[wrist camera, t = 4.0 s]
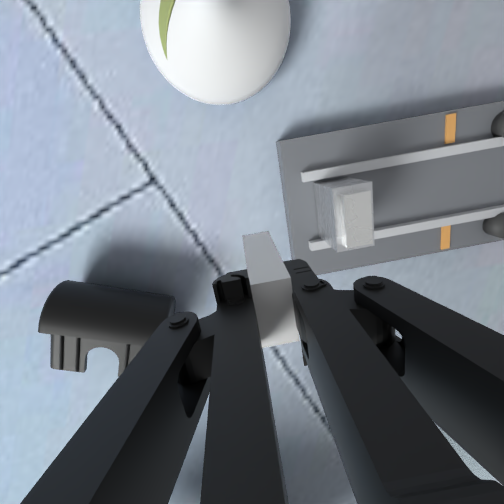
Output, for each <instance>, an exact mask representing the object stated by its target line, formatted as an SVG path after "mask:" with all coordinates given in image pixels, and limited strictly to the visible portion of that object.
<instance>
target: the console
mask: <svg viewBox="0 0 504 504" xmlns="http://www.w3.org/2000/svg"><path fill="white" fill-rule="evenodd" d="M276 145H277V152H278V160H279V167H280V175H281V182H282V189H283V197H284V204H285V212H286V219H287V227H288V234H289V241H290V249H291V256H292V260H295V259H301V260H304V261H306V262H307V263H308V265H309V266H310V268H311V269H312V271H313V272H314V273H315V275H320V274H325V273H331V272H336V271H341V270H346V269H352V268H357V267H362V266H368V265H373V264H378V263H384V262H389V261H394V260H400V259H405V258H410V257H416V256H421V255H426V254H432V253H437V252H442V251H447V250H453V249H458V248H463V247H469V246H474V245H479V244H485V243H490V242H495V241H501V240H504V101H499V102H494V103H488V104H483V105H477V106H472V107H466V108H460V109H455V110H449V111H444V112H438V113H433V114H427V115H421V116H416V117H410V118H405V119H399V120H394V121H388V122H382V123H377V124H371V125H366V126H360V127H355V128H349V129H343V130H338V131H332V132H327V133H321V134H316V135H310V136H305V137H299V138H293V139H288V140H282V141H278V142H276ZM344 177H349V178H355V179H361V180H367V181H372V190H373V217H374V244H375V246H369V247H364V248H359V249H353V250H348V251H343V252H336V251H335V250H334V249H333V248H332V247H331V246H329V245H328V244H327V243H326V242H325V241H324V240H323V239H321V238H320V237H319V233H318V223H317V213H316V203H315V194H314V184H313V183H317V182H322V181H328V180H333V179H339V178H344Z"/></svg>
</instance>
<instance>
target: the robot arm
mask: <svg viewBox="0 0 504 504" xmlns="http://www.w3.org/2000/svg"><path fill="white" fill-rule="evenodd" d="M242 237H243V244H244V251H245V258H246V265H247V269H246V270H240V271H235V272H229V273H227V274H226V275H224V276H221V277H219V278H217V279H216V280H215V281H214V282H213V284H212V285H213V289H214V294H215V298H216V302H217V311H216V312H214V313H213V314H211V315H209V316H207V317H204V318H201V319H199V320H198V317H197V315H196V314H195V313H193V312H179V313H176V314H173V315H171V316H170V317H168V318H166V319H165V320H164V321H163V322H162V323H161V324H160V325H159V326H158V328H157V329H156V330H155V331H154V333H153V334H152V335H151V337H150V338H149V339H148V340H147V342H146V343H145V344H144V346H143V347H142V348H141V349H140V351H139V352H138V353H137V355H136V356H135V357H134V358H133V360H132V361H131V362H130V364H129V365H128V366H127V367H126V369H125V370H124V371H123V373H122V374H121V375H120V376H119V378H118V379H117V380H116V382H115V383H114V384H113V385H112V387H111V388H110V389H109V390H108V392H107V393H106V394H105V396H104V397H103V398H102V399H101V401H100V402H99V403H98V405H97V406H96V407H95V408H94V410H93V411H92V412H91V414H90V415H89V416H88V417H87V419H86V420H85V421H84V423H83V424H82V425H81V426H80V428H79V429H78V430H77V432H76V433H75V434H74V435H73V437H72V438H71V439H70V441H69V442H68V443H67V444H66V446H65V447H64V448H63V450H62V451H61V452H60V453H59V455H58V456H57V457H56V459H55V460H54V461H53V462H52V464H51V465H50V466H49V467H48V469H47V470H46V471H45V473H44V474H43V475H42V476H41V478H40V479H39V480H38V482H37V483H36V484H35V485H34V487H33V488H32V489H31V491H30V492H29V493H28V494H27V496H26V497H25V498H24V500H23V501H22V502H21V503H20V504H168V502H169V500H170V497H171V494H172V491H173V489H174V486H175V483H176V481H177V478H178V475H179V473H180V470H181V467H182V465H183V462H184V459H185V457H186V454H187V451H188V449H189V446H190V443H191V441H192V438H193V435H194V433H195V430H196V427H197V424H198V422H199V419H200V416H201V414H202V411H203V408H204V406H205V403H206V400H207V398H208V395H209V392H210V395H209V407H208V419H207V431H206V442H205V454H204V466H203V478H202V490H201V502H200V504H288V498H287V492H286V486H285V480H284V474H283V468H282V462H281V456H280V450H279V444H278V438H277V432H276V426H275V420H274V414H273V408H272V402H271V396H270V390H269V384H268V378H267V372H266V366H265V361H264V355H263V350H262V348H265V347H270V346H276V345H281V344H286V343H292V342H297V341H299V335H300V338H301V346H302V353H303V361H304V366H306V365H308V367H309V370H310V373H311V376H312V378H313V381H314V384H315V387H316V390H317V392H318V395H319V398H320V401H321V403H322V406H323V409H324V412H325V415H326V417H327V420H328V423H329V426H330V429H331V431H332V434H333V437H334V440H335V442H336V445H337V448H338V451H339V454H340V456H341V459H342V462H343V465H344V467H345V470H346V473H347V476H348V479H349V481H350V484H351V487H352V490H353V493H354V495H355V498H356V501H357V504H504V335H502V334H500V333H498V332H496V331H494V330H492V329H490V328H488V327H486V326H484V325H482V324H480V323H477V322H475V321H473V320H471V319H469V318H467V317H465V316H463V315H461V314H459V313H457V312H455V311H453V310H451V309H449V308H447V307H445V306H443V305H441V304H438V303H436V302H434V301H432V300H430V299H428V298H426V297H424V296H422V295H420V294H418V293H416V292H414V291H412V290H410V289H408V288H406V287H404V286H402V285H400V284H397V283H395V282H393V281H391V280H389V279H386V278H383V277H377V276H372V277H371V276H367V277H364V278H360V279H358V280H356V281H355V282H354V283H353V286H354V290H334V289H333V288H332V286H331V285H330V284H329V283H328V282H327V281H325V280H322V279H318V278H317V276H316V275H315V273H314V272H313V271H312V269H311V268H310V266H309V265H308V263H307V262H306V261H304V260H301V259H295V260H290V261H284V262H283V261H282V258H281V256H280V254H279V252H278V250H277V248H276V246H275V244H274V242H273V240H272V238H271V236H270V234H269V232H268V231H265V232H260V233H254V234H249V235H244V236H242ZM395 329H396V330H397V331H399V332H400V334H401V335H402V339H400V338H399V337H397V336H396V335H395ZM298 332H299V334H298ZM432 420H433V421H434V422H435V423H436V424H437V425H438V426H439V427H440V428H441V429H442V430H443V431H445V432H446V433H447V434H448V435H449V436H450V437H451V438H452V439H453V440H454V441H455V442H456V443H458V444H459V445H460V446H461V447H462V448H463V449H464V450H465V451H466V452H467V453H468V454H470V455H471V456H472V457H473V458H474V459H475V460H476V461H477V462H478V463H479V464H480V465H481V466H483V467H484V468H485V469H486V470H487V471H488V472H489V473H490V474H491V475H492V476H493V477H494V478H496V479H497V480H498V481H499V482H500V483H501V484H502V485H503V486H502V485H501V484H499V483H498V482H496V481H494V480H481V479H479V478H478V477H477V476H475V475H474V474H473V473H472V472H471V471H470V469H469V468H468V467H467V466H466V465H465V463H464V462H463V461H462V459H461V458H460V457H459V455H458V454H457V453H456V451H455V450H454V449H453V447H452V446H451V445H450V443H449V442H448V441H447V439H446V438H445V437H444V435H443V434H442V433H441V431H440V430H439V429H438V427H437V426H436V425H435V423H434V422H433V421H432Z"/></svg>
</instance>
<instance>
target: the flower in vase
mask: <svg viewBox="0 0 504 504" xmlns="http://www.w3.org/2000/svg"><path fill="white" fill-rule="evenodd" d="M140 20H141V28H142V33H143V37H144V41H145V43H146V46H147V49H148V52H149V54H150V56H151V58H152V60H153V62H154V63H155V65H156V67H157V68H158V70H159V71H160V72H161V74H162V75H163V76H164V77H165V79H166V80H167V81H168V82H169V83H170V84H171V85H172V86H173V87H175V88H176V89H177V90H179V91H180V92H181V93H183V94H184V95H186V96H188V97H189V98H192V99H194V100H196V101H199V102H203V103H206V104H212V105H229V104H235V103H238V102H241V101H244V100H246V99H248V98H250V97H252V96H254V95H255V94H256V93H258V92H259V91H261V90H262V89H263V88H264V87H265V86H266V85H267V84H268V83H269V82H270V81H271V79H272V78H273V77H274V75H275V74H276V72H277V71H278V69H279V67H280V65H281V63H282V61H283V59H284V56H285V53H286V51H287V47H288V42H289V37H290V29H291V14H290V5H289V0H140Z"/></svg>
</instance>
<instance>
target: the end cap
mask: <svg viewBox="0 0 504 504" xmlns="http://www.w3.org/2000/svg"><path fill="white" fill-rule="evenodd" d="M174 310H175V298H174V297H173V296H167V295H161V294H154V293H148V292H141V291H135V290H128V289H122V288H115V287H109V286H102V285H96V284H89V283H83V282H76V281H70V280H67V281H63V282H61V283H60V284H58V285H57V286H56V287H55V288H54V289H53V291H52V292H51V293H50V295H49V297H48V298H47V300H46V302H45V304H44V307H43V309H42V312H41V316H40V320H39V327H38V332H39V333H45V334H51V368H53V369H58V370H66V371H75V372H85V371H86V368H87V354H88V351H90V350H91V349H93V348H96V347H104V348H108V349H110V350H112V351H113V352H115V353H116V355H117V356H118V358H119V371H118V376H120V375H121V374H122V373H123V371H124V370H125V369H126V367H127V366H128V365H129V364H130V362H131V361H132V360H133V358H134V357H135V356H136V355H137V353H138V352H139V351H140V349H141V348H142V347H143V346H144V344H145V343H146V342H147V340H148V339H149V338H150V337H151V335H152V334H153V333H154V331H155V330H156V329H157V328H158V326H159V325H160V324H161V323H162V322H163V321H164V320H165V319H166V318H168V317H170V316H171V315H173V314H174Z"/></svg>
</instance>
